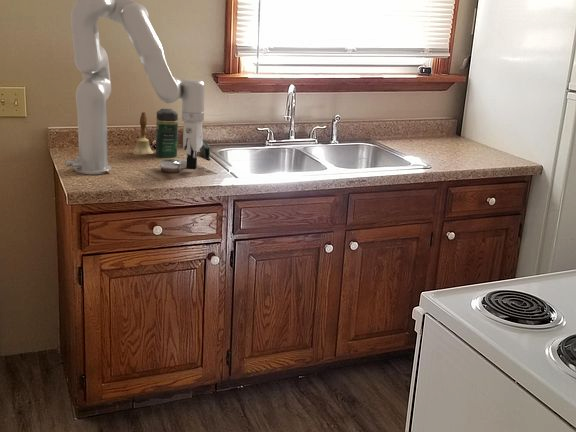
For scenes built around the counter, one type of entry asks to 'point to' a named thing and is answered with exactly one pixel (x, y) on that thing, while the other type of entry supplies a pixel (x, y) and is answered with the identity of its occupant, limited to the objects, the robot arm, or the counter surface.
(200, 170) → the level board
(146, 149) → the hand bell
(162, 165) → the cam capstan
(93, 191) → the counter surface
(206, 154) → the dark green box
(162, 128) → the coffee jar
